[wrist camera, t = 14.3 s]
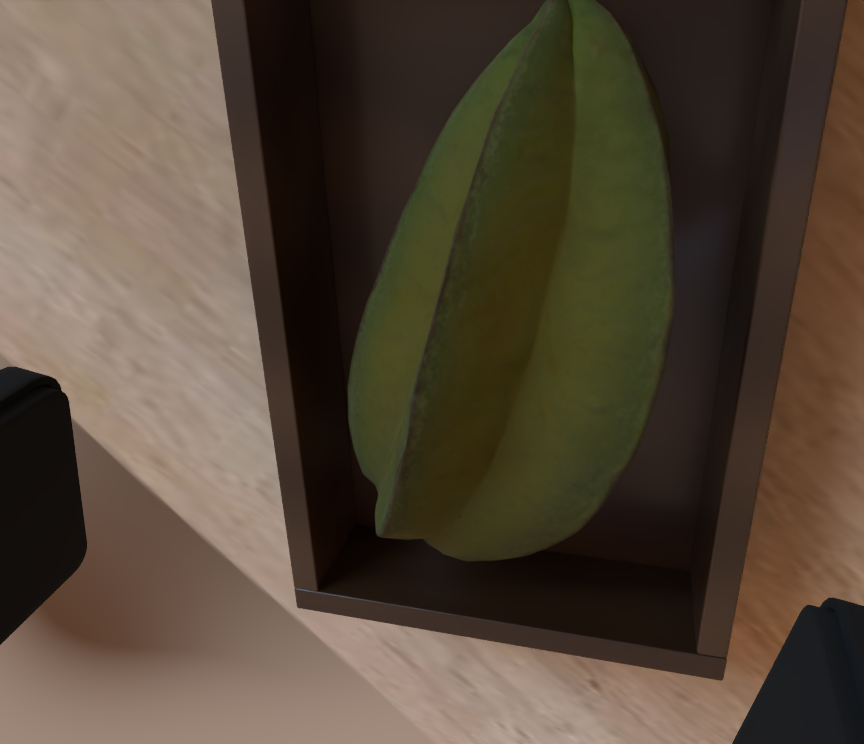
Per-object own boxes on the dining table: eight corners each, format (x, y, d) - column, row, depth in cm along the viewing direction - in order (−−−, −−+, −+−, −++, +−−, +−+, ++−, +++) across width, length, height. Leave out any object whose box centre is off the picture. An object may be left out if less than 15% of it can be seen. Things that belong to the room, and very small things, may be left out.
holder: (278, -110, 19) (189, -140, 15) (832, -158, 15) (887, -210, 12) (343, 529, 27) (296, 608, 23) (712, 581, 24) (723, 681, 20)
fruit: (851, 513, 16) (765, 343, 22) (630, 0, 11) (586, -61, 16) (417, 646, 20) (433, 476, 26) (89, 332, 15) (197, 196, 20)
